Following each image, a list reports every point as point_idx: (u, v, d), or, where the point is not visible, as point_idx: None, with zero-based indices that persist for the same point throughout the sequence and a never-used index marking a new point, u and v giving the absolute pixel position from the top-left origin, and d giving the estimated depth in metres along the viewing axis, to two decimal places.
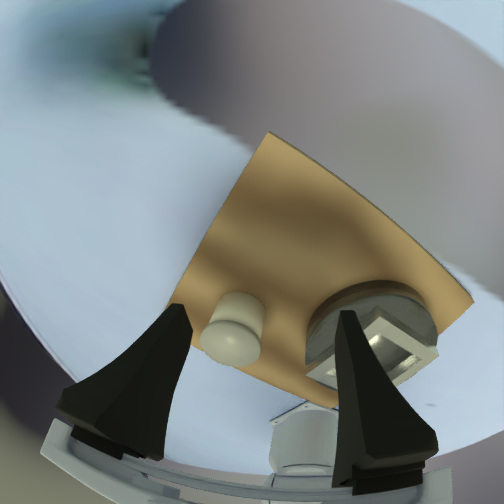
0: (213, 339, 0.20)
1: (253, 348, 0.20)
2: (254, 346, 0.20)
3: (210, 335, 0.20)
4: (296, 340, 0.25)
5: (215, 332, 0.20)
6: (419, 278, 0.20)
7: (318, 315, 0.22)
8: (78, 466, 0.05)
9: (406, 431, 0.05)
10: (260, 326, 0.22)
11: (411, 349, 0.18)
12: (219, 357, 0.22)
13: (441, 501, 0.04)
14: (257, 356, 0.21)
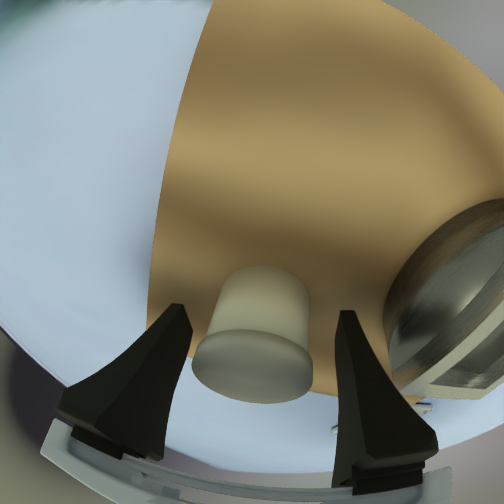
0: (216, 368, 0.10)
1: (299, 375, 0.09)
2: (300, 372, 0.09)
3: (208, 364, 0.10)
4: (367, 330, 0.14)
5: (215, 357, 0.09)
6: None
7: (408, 283, 0.10)
8: (78, 466, 0.05)
9: (406, 430, 0.05)
10: (305, 325, 0.11)
11: None
12: (239, 394, 0.11)
13: (441, 501, 0.04)
14: (308, 385, 0.10)
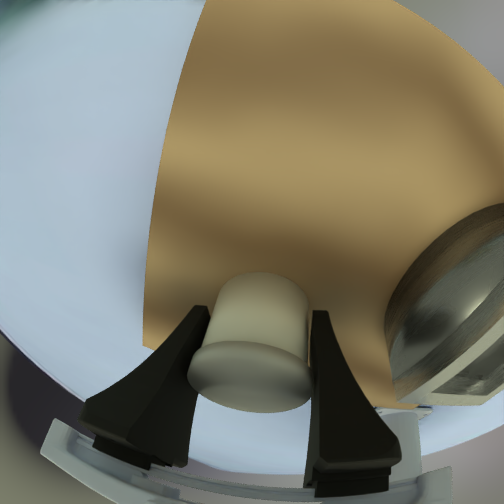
0: (212, 379, 0.10)
1: (297, 387, 0.09)
2: (299, 383, 0.09)
3: (204, 375, 0.09)
4: (368, 337, 0.14)
5: (211, 369, 0.09)
6: None
7: (410, 290, 0.10)
8: (78, 466, 0.05)
9: (366, 436, 0.06)
10: (304, 334, 0.11)
11: None
12: (236, 403, 0.11)
13: (441, 501, 0.04)
14: (307, 396, 0.09)
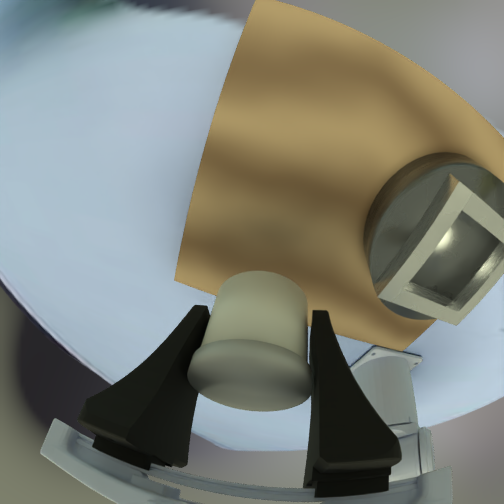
0: (212, 378, 0.10)
1: (297, 384, 0.09)
2: (299, 381, 0.09)
3: (204, 374, 0.09)
4: (353, 258, 0.19)
5: (211, 368, 0.09)
6: (479, 147, 0.12)
7: (376, 210, 0.16)
8: (78, 466, 0.05)
9: (366, 436, 0.06)
10: (303, 332, 0.11)
11: (499, 233, 0.11)
12: (236, 402, 0.11)
13: (441, 501, 0.04)
14: (308, 394, 0.09)
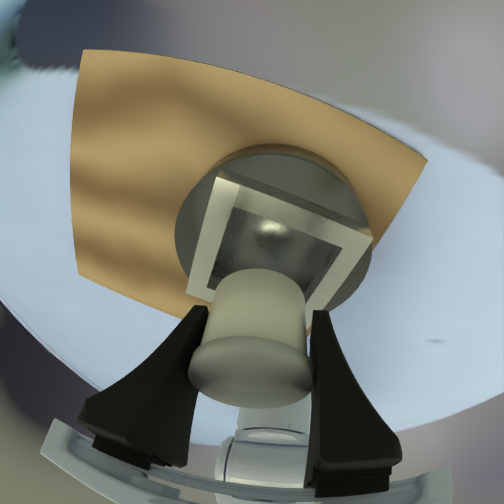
0: (213, 376, 0.10)
1: (298, 380, 0.09)
2: (300, 376, 0.09)
3: (205, 372, 0.09)
4: None
5: (212, 365, 0.09)
6: (305, 131, 0.15)
7: None
8: (78, 466, 0.05)
9: (366, 436, 0.06)
10: (302, 328, 0.11)
11: (309, 229, 0.14)
12: (237, 400, 0.11)
13: (441, 501, 0.04)
14: (308, 389, 0.10)
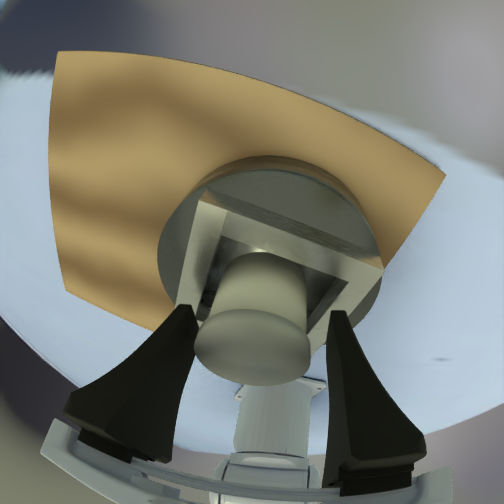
0: (217, 349, 0.11)
1: (297, 354, 0.10)
2: (298, 351, 0.10)
3: (210, 344, 0.10)
4: None
5: (217, 337, 0.10)
6: (307, 141, 0.13)
7: None
8: (78, 466, 0.05)
9: (393, 433, 0.05)
10: (302, 308, 0.12)
11: (310, 261, 0.12)
12: (239, 376, 0.12)
13: (441, 501, 0.04)
14: (306, 366, 0.11)
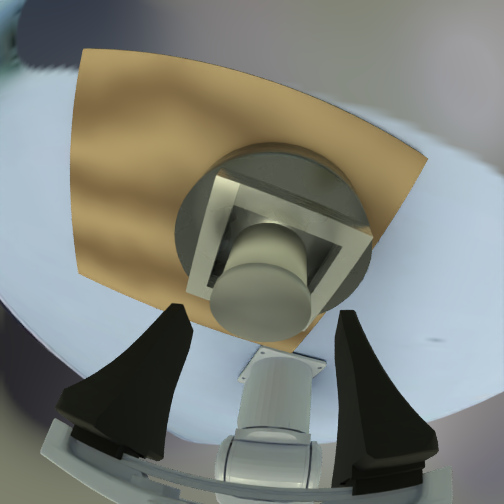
0: (230, 301, 0.13)
1: (299, 304, 0.12)
2: (300, 300, 0.12)
3: (224, 297, 0.13)
4: None
5: (231, 288, 0.12)
6: (305, 130, 0.15)
7: None
8: (78, 466, 0.05)
9: (406, 431, 0.05)
10: (303, 268, 0.14)
11: (309, 227, 0.14)
12: (248, 331, 0.14)
13: (441, 501, 0.04)
14: (308, 317, 0.13)
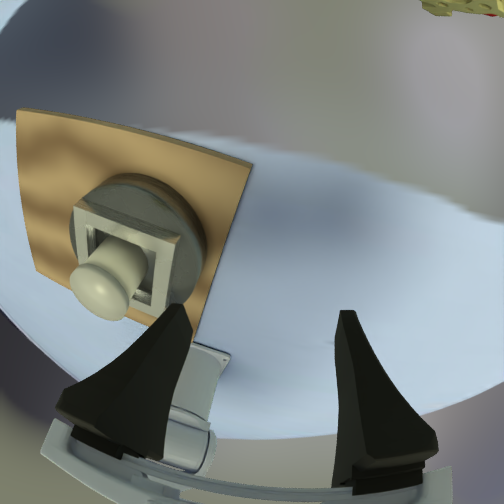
0: (79, 288, 0.17)
1: (112, 293, 0.16)
2: (111, 290, 0.16)
3: (75, 285, 0.17)
4: None
5: (76, 279, 0.16)
6: (142, 161, 0.19)
7: None
8: (78, 466, 0.05)
9: (406, 431, 0.05)
10: (127, 268, 0.18)
11: (129, 238, 0.18)
12: (97, 311, 0.18)
13: (441, 501, 0.04)
14: (122, 303, 0.17)
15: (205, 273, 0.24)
